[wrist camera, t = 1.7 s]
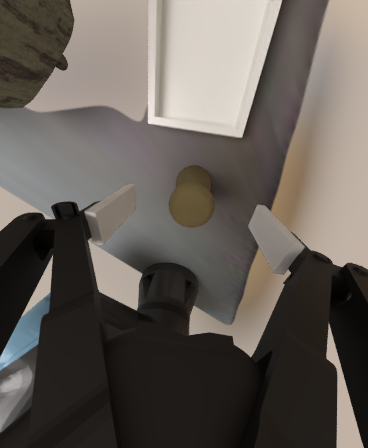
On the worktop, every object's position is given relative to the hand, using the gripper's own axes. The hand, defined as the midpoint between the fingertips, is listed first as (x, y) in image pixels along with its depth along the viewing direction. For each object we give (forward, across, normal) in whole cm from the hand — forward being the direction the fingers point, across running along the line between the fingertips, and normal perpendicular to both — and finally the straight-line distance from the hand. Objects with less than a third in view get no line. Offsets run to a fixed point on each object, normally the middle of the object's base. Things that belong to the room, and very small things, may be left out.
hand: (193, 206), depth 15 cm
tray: (+10, +1, -14) cm, 17 cm away
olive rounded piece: (+10, 0, 0) cm, 10 cm away
